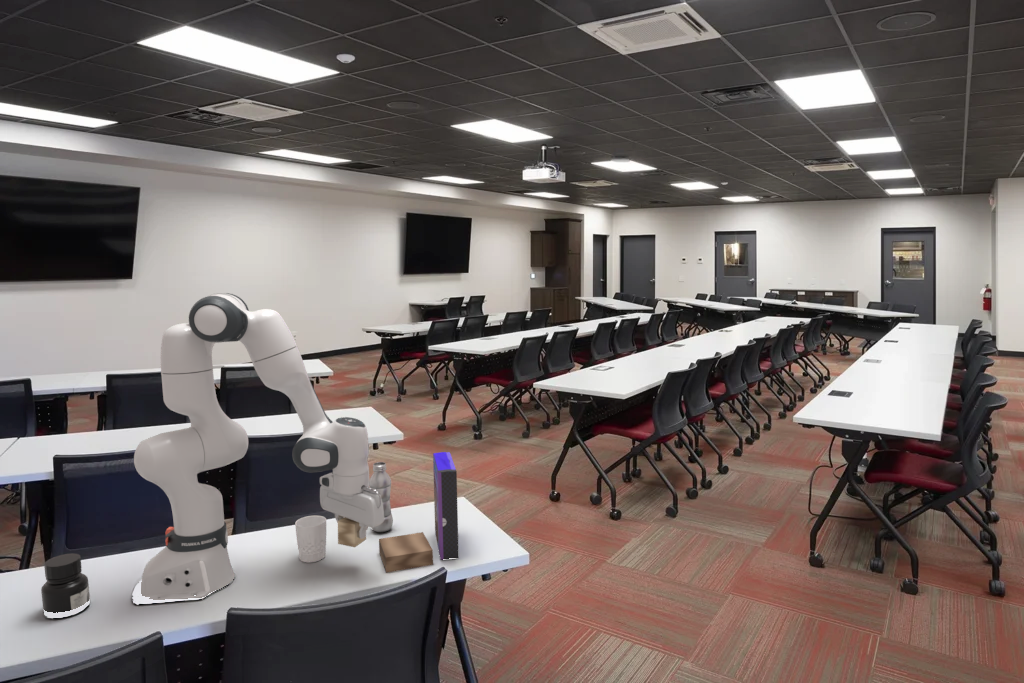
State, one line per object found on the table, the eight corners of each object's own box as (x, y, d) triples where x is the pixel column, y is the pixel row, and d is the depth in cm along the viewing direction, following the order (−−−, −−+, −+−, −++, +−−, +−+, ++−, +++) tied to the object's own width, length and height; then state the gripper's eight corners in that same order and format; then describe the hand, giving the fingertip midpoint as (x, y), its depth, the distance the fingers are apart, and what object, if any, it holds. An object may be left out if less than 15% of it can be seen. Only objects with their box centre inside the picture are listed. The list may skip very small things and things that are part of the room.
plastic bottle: (396, 525, 196) (393, 460, 194) (389, 535, 189) (387, 467, 187) (374, 525, 197) (372, 460, 194) (367, 534, 190) (364, 467, 188)
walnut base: (386, 572, 167) (385, 557, 166) (379, 553, 178) (378, 538, 178) (433, 564, 171) (432, 550, 170) (423, 546, 182) (422, 532, 182)
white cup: (322, 548, 182) (321, 513, 180) (332, 558, 175) (330, 522, 174) (293, 555, 177) (291, 519, 176) (301, 566, 171) (299, 529, 170)
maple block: (338, 543, 167) (337, 521, 167) (349, 536, 172) (349, 514, 171) (354, 547, 166) (354, 524, 165) (366, 539, 170) (365, 517, 169)
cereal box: (435, 533, 190) (432, 452, 187) (451, 532, 191) (449, 451, 188) (440, 560, 173) (438, 471, 170) (458, 558, 174) (456, 470, 171)
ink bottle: (86, 616, 148) (81, 565, 147) (38, 625, 145) (33, 573, 143) (94, 596, 157) (89, 547, 155) (49, 604, 153) (44, 554, 152)
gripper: (389, 487, 163) (390, 540, 165) (334, 469, 175) (335, 519, 177) (370, 495, 158) (371, 549, 160) (315, 476, 170) (316, 527, 172)
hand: (352, 533), depth 168 cm, fingers closed on maple block, 6 cm apart
